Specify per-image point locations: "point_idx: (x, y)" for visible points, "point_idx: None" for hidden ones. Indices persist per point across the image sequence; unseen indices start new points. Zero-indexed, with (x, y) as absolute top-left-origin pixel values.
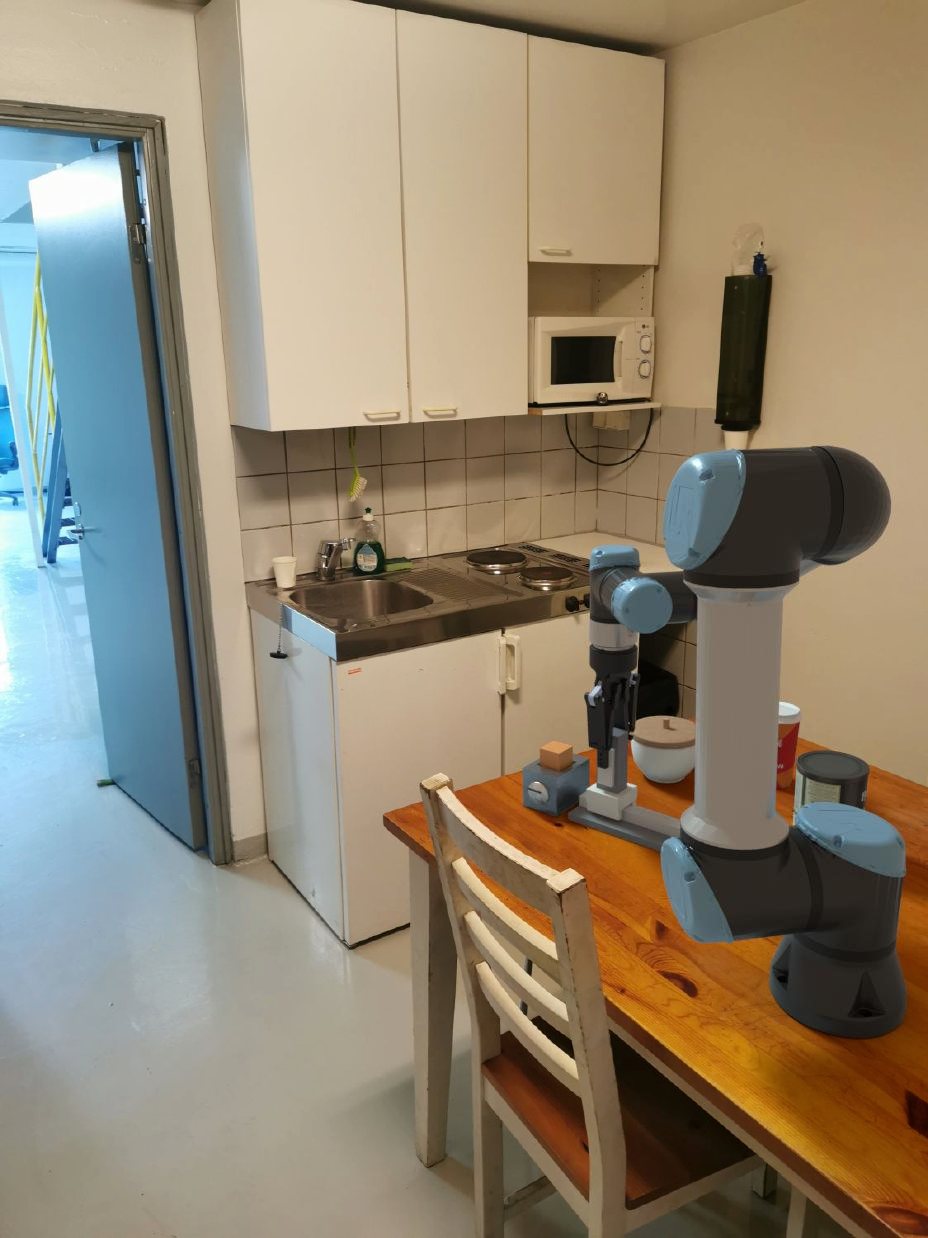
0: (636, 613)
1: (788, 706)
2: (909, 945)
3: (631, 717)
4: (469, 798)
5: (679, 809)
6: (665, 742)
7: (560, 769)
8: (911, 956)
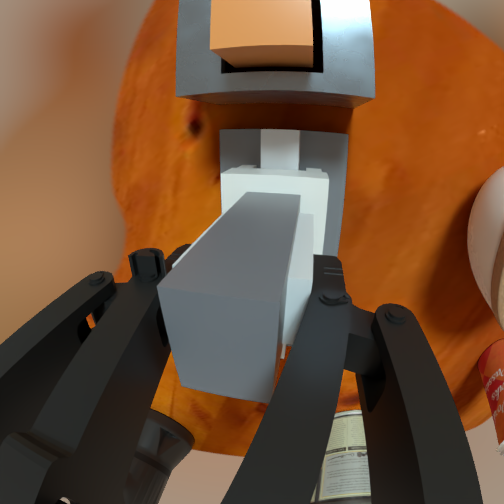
0: None
1: None
2: (235, 454)
3: (366, 427)
4: None
5: (386, 293)
6: (499, 300)
7: (236, 63)
8: (224, 453)
